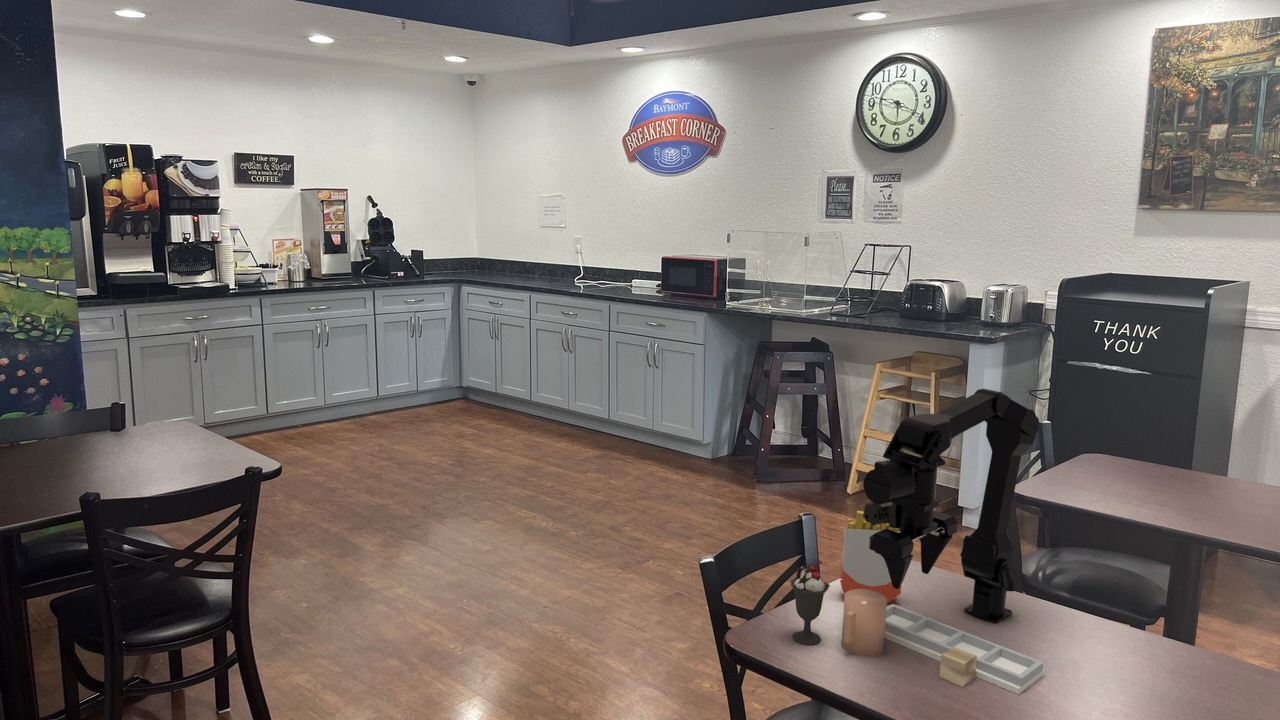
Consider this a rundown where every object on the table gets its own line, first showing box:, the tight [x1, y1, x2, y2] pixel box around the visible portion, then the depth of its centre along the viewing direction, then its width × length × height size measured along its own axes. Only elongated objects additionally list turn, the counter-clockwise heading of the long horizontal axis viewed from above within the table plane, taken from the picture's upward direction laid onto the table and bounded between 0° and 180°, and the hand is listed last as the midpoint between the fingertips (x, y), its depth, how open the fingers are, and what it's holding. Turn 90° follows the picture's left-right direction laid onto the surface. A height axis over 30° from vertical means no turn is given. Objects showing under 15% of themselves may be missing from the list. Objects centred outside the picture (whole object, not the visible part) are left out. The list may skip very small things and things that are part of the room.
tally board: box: [884, 603, 1045, 695], centre depth 156 cm, size 9×28×2 cm, turn 42°
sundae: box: [789, 560, 831, 646], centre depth 159 cm, size 7×7×15 cm
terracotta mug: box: [841, 589, 888, 658], centre depth 156 cm, size 8×7×9 cm
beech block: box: [939, 647, 977, 687], centre depth 148 cm, size 4×4×4 cm
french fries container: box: [839, 510, 902, 604], centre depth 174 cm, size 5×11×18 cm, turn 83°
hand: (910, 580), depth 156 cm, fingers open, 9 cm apart
